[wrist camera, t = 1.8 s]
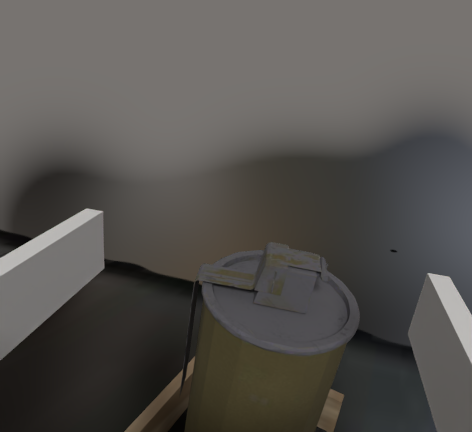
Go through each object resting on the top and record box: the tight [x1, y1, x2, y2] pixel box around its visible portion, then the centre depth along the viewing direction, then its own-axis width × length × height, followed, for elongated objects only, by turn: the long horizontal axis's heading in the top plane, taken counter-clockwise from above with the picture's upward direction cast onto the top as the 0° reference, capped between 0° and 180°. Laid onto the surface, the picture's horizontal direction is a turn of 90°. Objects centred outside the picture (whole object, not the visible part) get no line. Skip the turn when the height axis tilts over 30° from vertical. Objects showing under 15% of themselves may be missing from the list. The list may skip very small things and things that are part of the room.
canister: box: [180, 242, 360, 432], centre depth 29 cm, size 11×10×20 cm
